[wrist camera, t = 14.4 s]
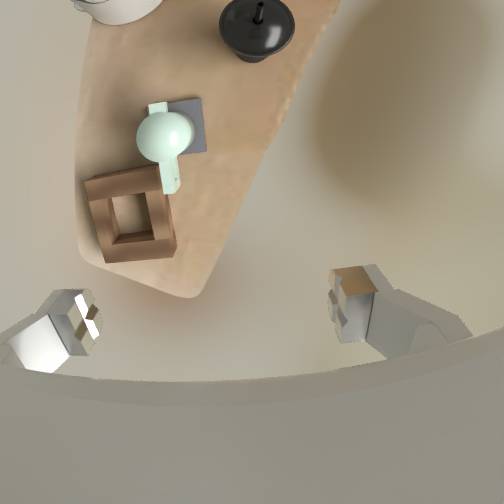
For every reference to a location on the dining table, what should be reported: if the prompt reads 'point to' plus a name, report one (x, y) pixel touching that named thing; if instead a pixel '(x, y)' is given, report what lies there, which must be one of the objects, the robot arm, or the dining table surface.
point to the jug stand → (105, 222)
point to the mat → (195, 112)
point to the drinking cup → (256, 28)
